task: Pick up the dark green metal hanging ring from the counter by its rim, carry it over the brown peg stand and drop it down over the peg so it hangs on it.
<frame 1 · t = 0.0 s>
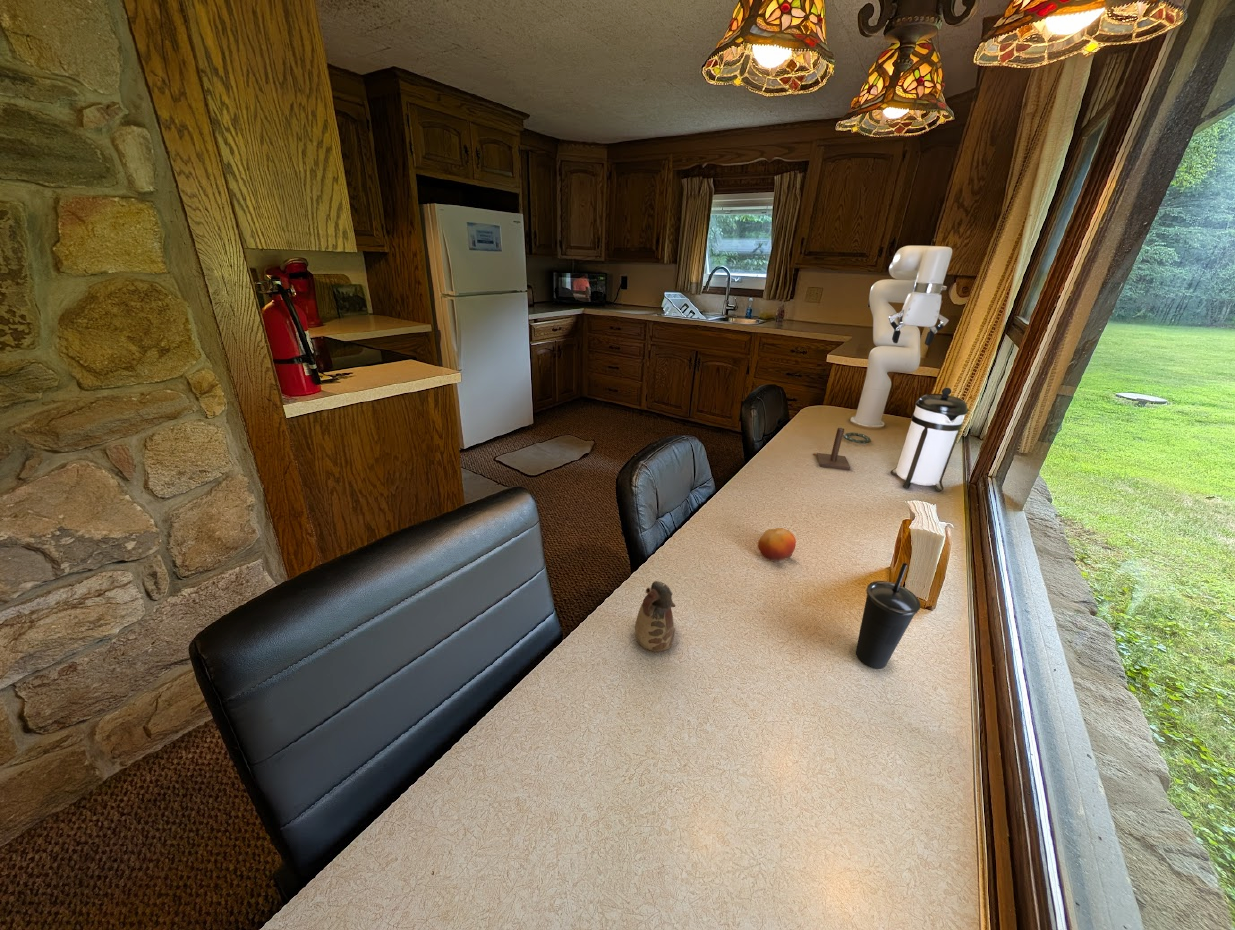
hand: (910, 343, 154), 37 cm above the counter, tool pointing down, fingers open, 9 cm apart
coffee press: (912, 480, 143), on the counter
ring: (856, 438, 172), point 1 cm above the counter
fruit: (774, 556, 106), on the counter
figurine: (654, 637, 83), on the counter
drinking cup: (870, 658, 80), on the counter
brown peg stand: (832, 462, 154), on the counter
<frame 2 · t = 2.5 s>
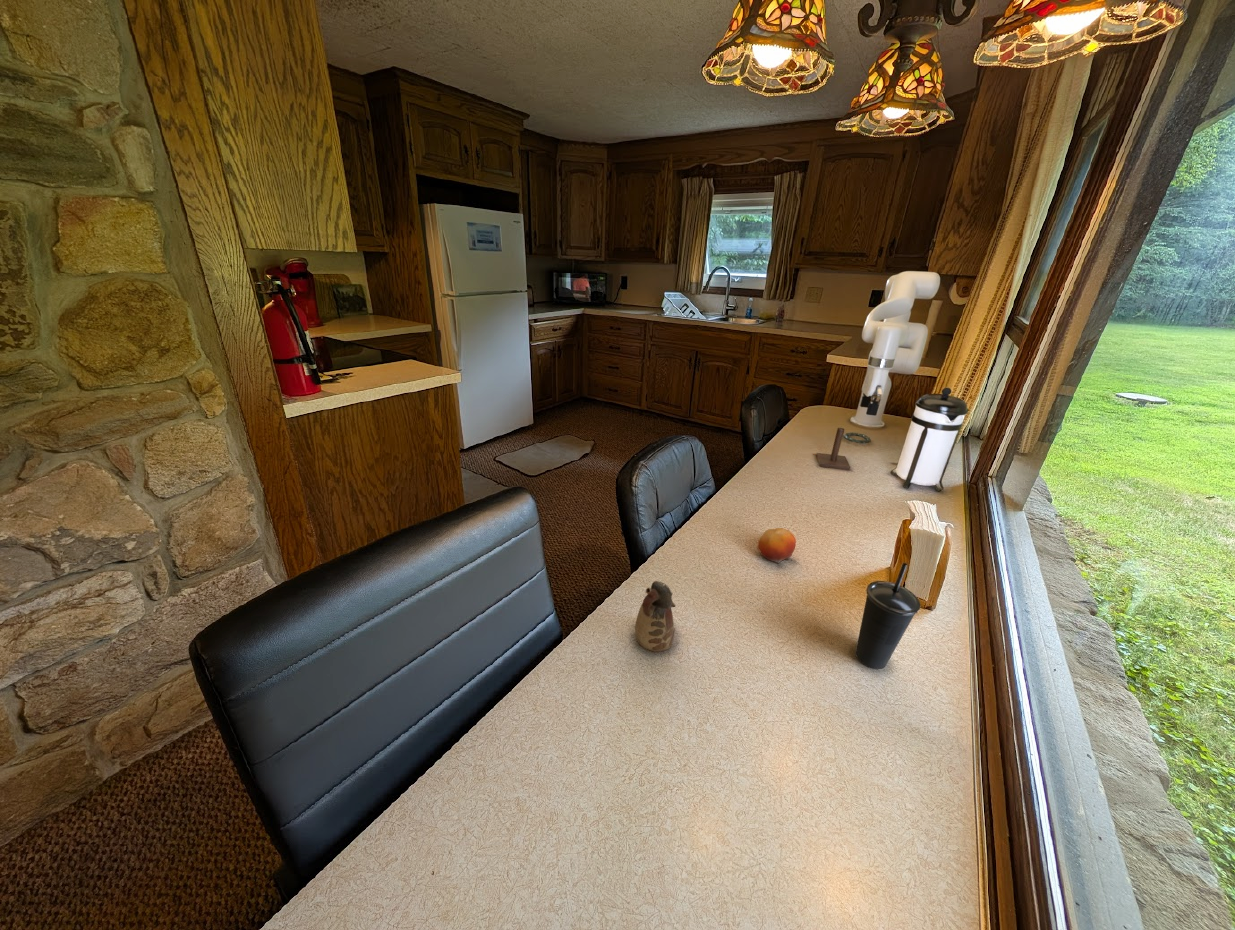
hand: (867, 410, 164), 13 cm above the counter, tool pointing down, fingers open, 9 cm apart
nothing on the counter moved.
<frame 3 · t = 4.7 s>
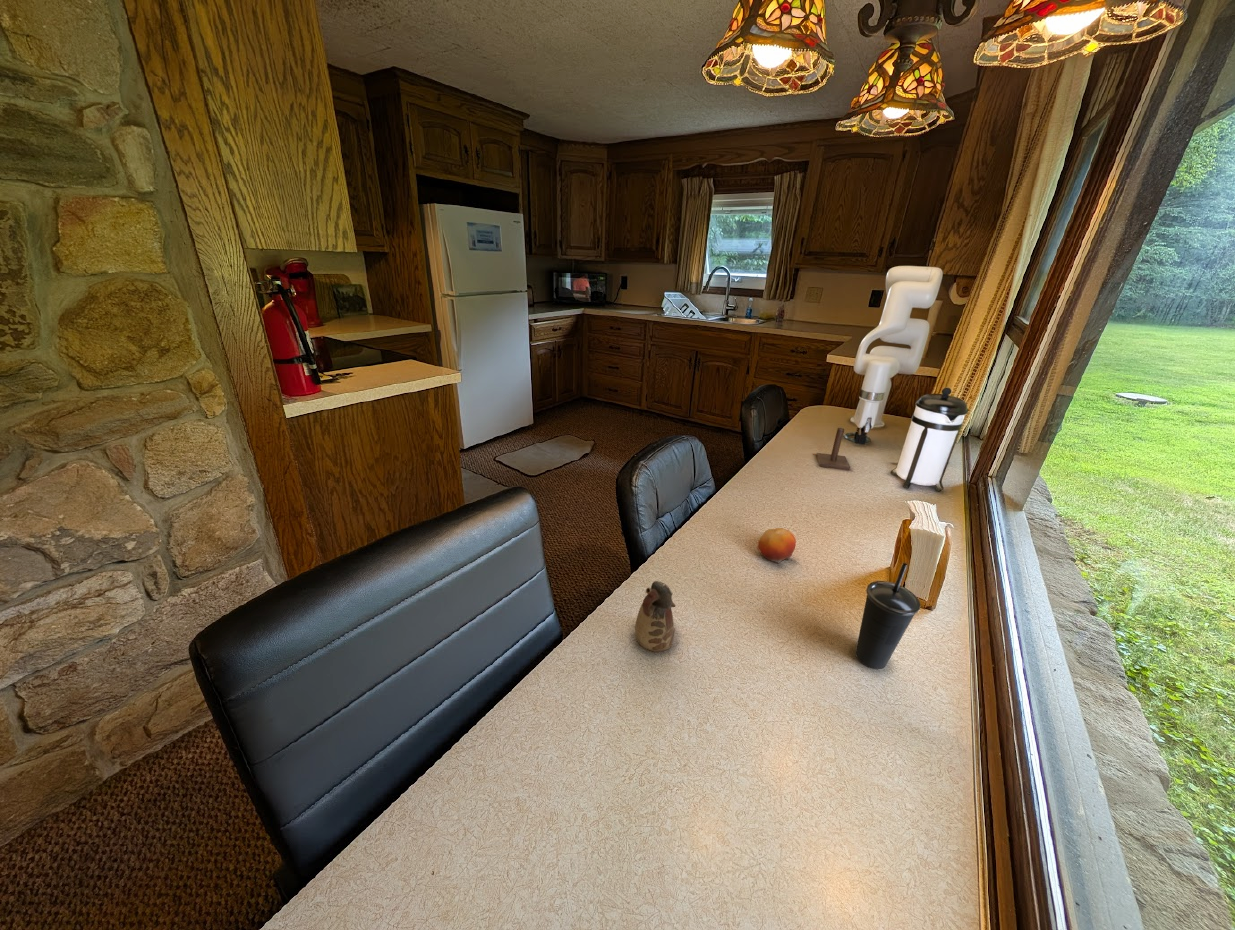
hand: (858, 443, 169), 0 cm above the counter, tool pointing down, fingers closed on ring, 2 cm apart
ring: (857, 438, 172), point 1 cm above the counter, touching gripper
everything else where it was.
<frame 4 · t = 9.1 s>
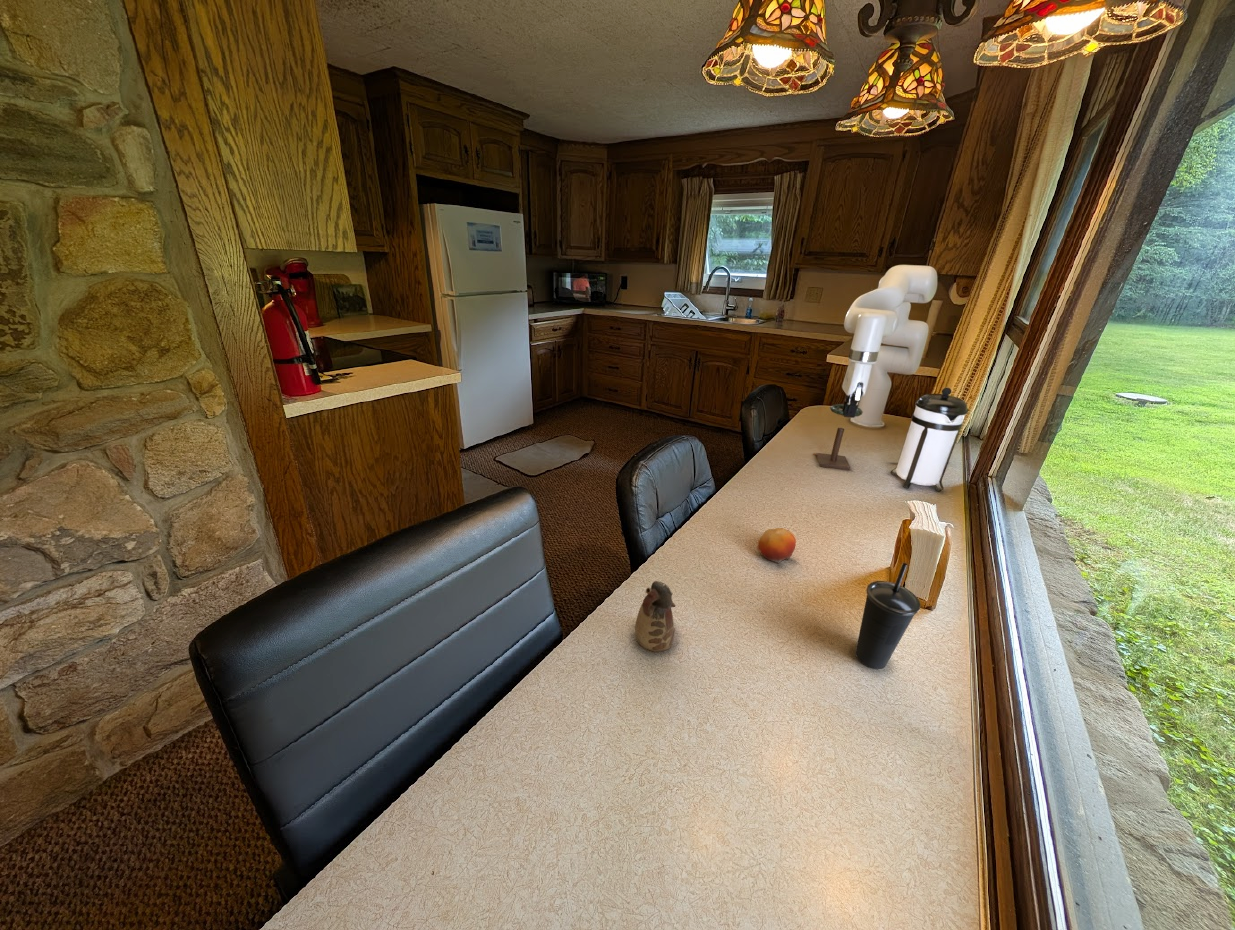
hand: (847, 415, 143), 18 cm above the counter, tool pointing down, fingers closed on ring
ring: (846, 410, 146), point 18 cm above the counter, touching gripper
everything else where it was.
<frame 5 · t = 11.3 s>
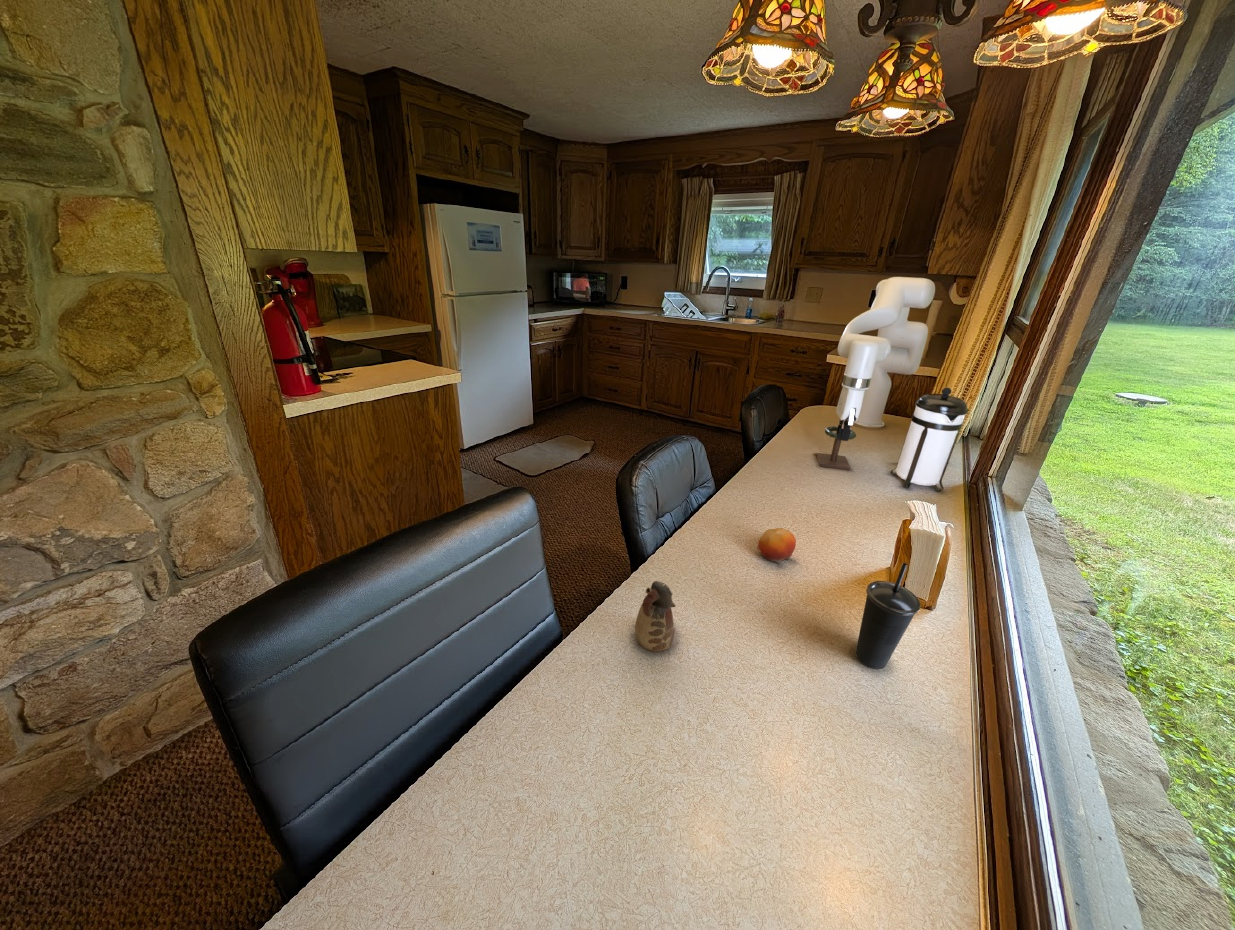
hand: (841, 438, 146), 10 cm above the counter, tool pointing down, fingers closed on ring
ring: (840, 432, 149), point 11 cm above the counter, touching gripper
everything else where it was.
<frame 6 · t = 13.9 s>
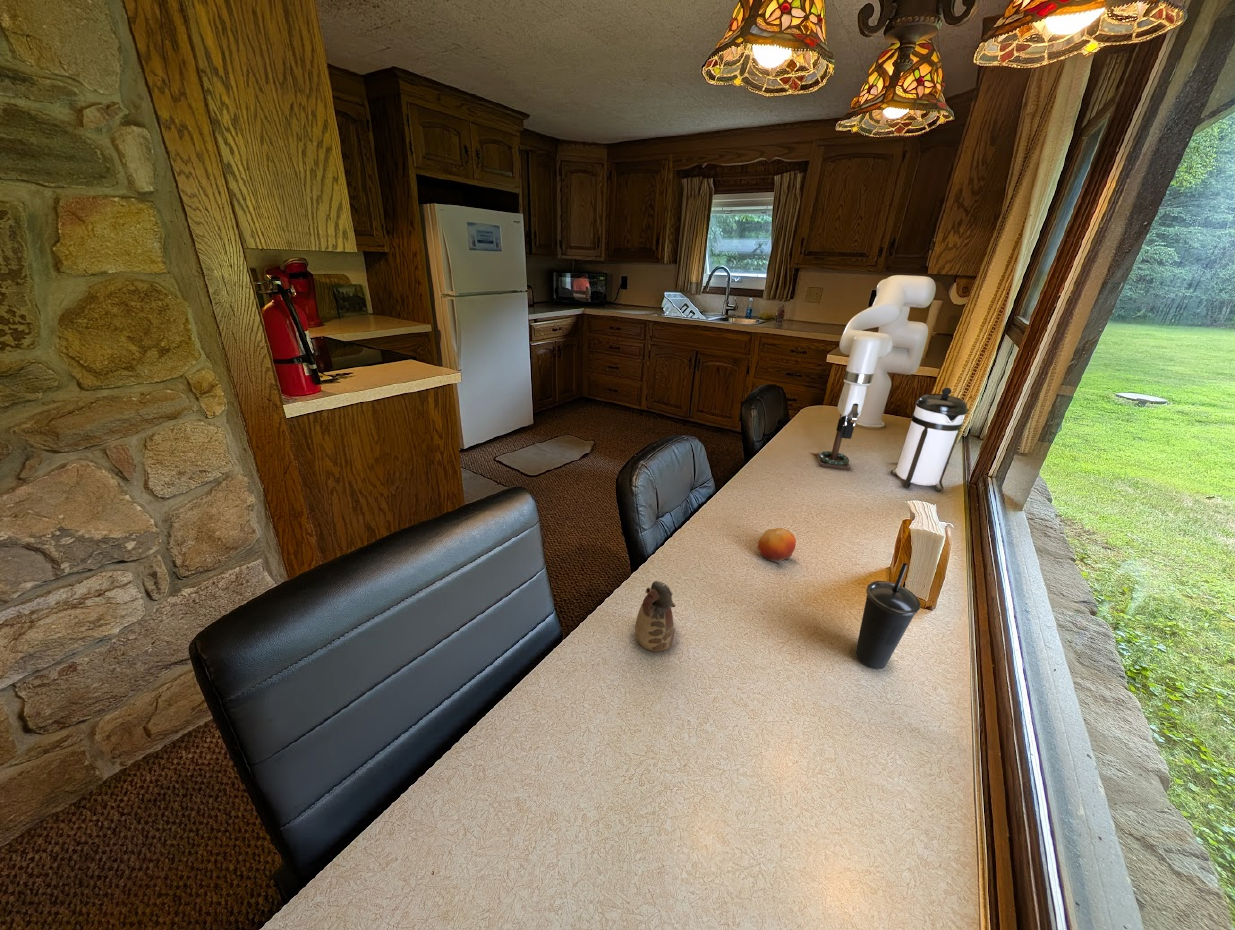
hand: (843, 434, 144), 12 cm above the counter, tool pointing down, fingers open, 5 cm apart
ring: (833, 458, 152), point 2 cm above the counter, touching brown peg stand
everything else where it was.
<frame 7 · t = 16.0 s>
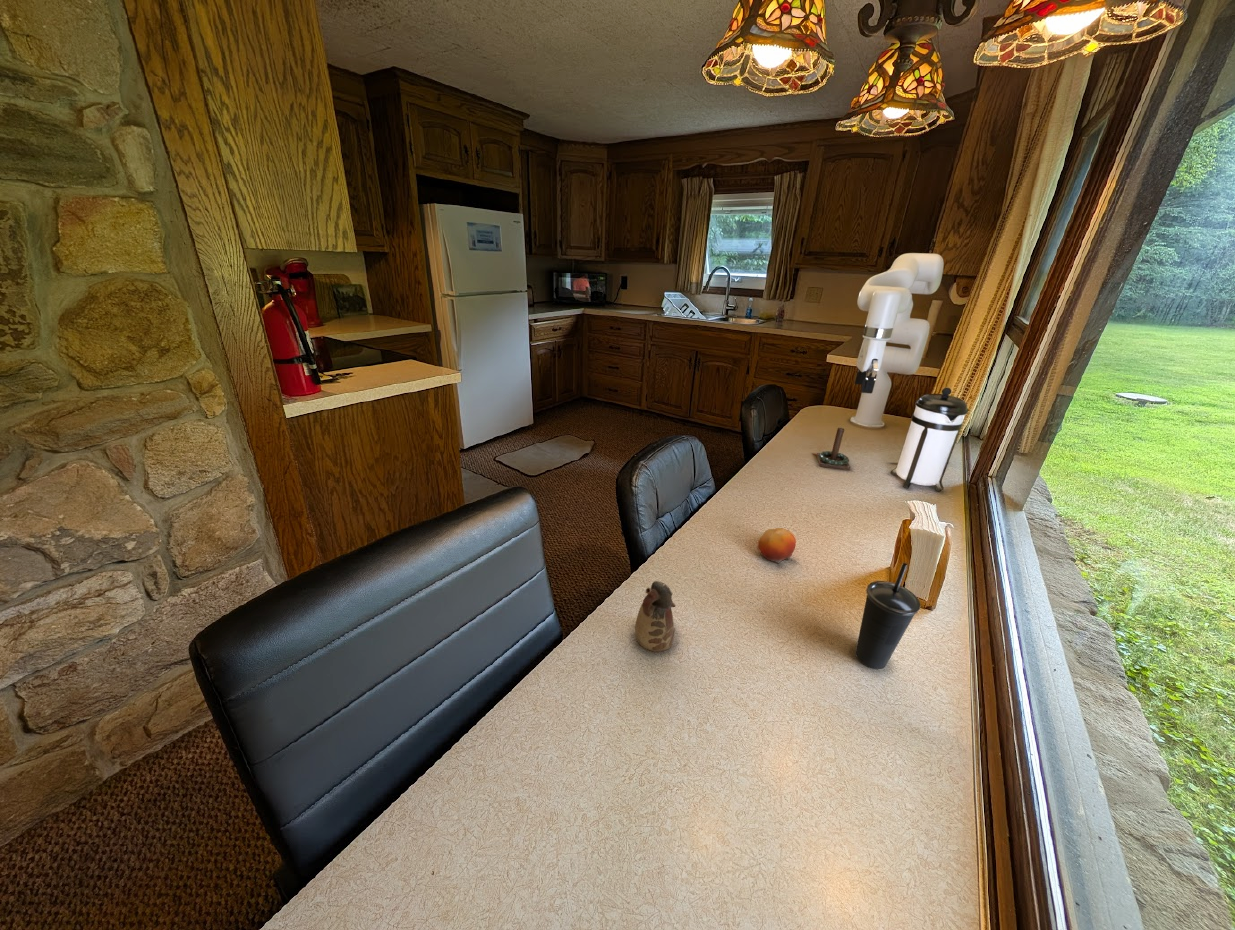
hand: (862, 388, 145), 25 cm above the counter, tool pointing down, fingers open, 9 cm apart
nothing on the counter moved.
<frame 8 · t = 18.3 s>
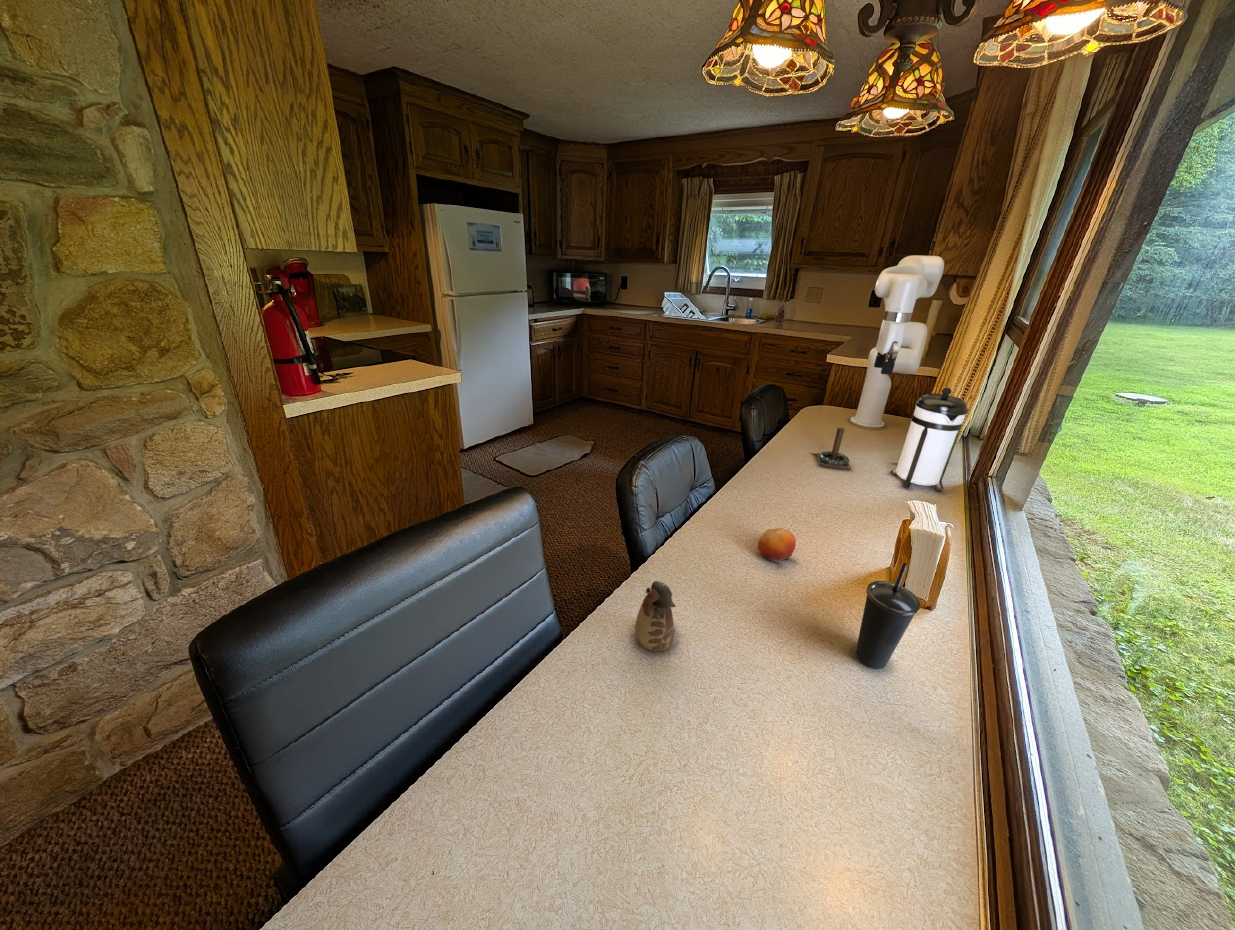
hand: (882, 370, 154), 28 cm above the counter, tool pointing down, fingers open, 9 cm apart
nothing on the counter moved.
at the end: ring 0.7 cm off-centre on the brown peg stand, point 2.0 cm above the brown peg stand's base; ring 0.7 cm from the brown peg stand (horizontally) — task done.
